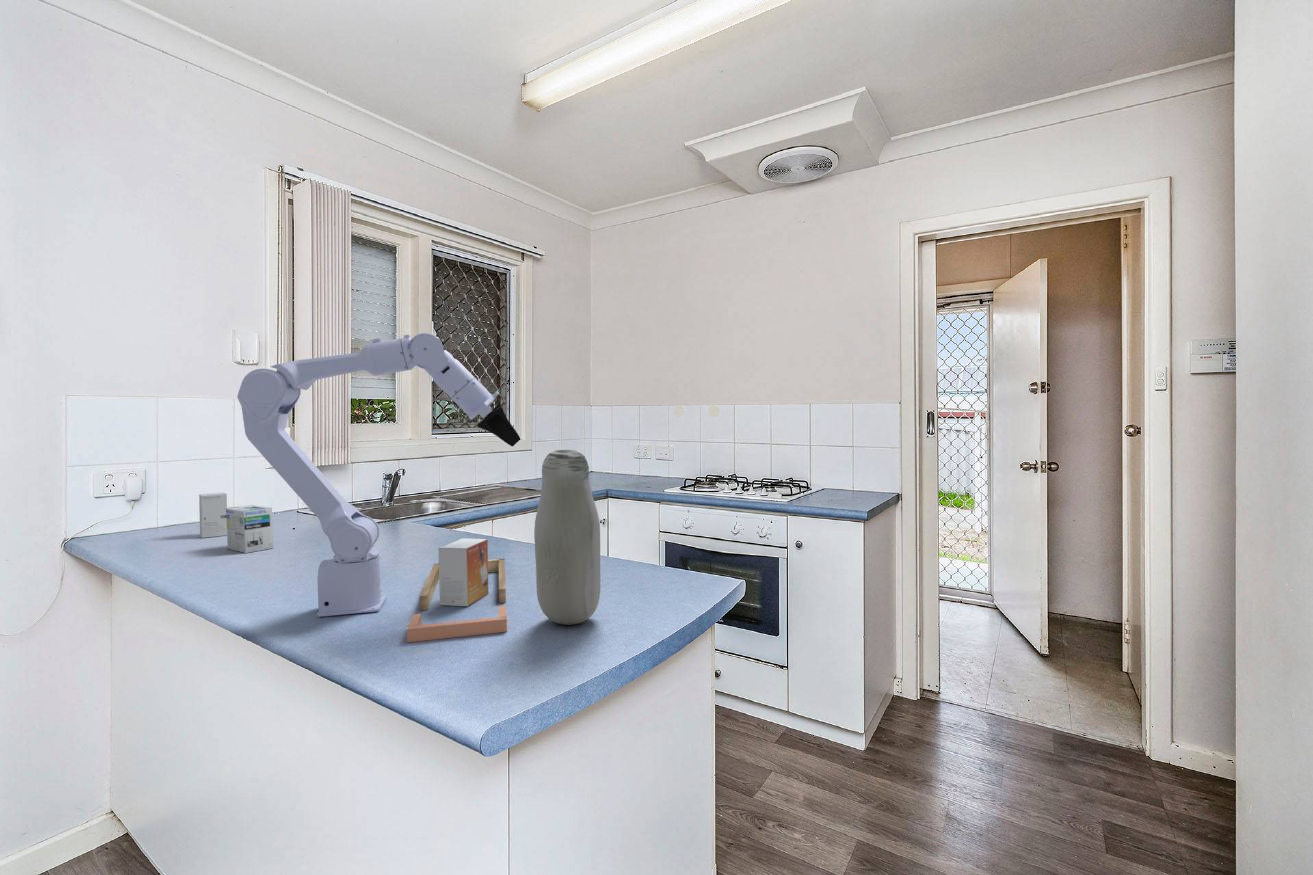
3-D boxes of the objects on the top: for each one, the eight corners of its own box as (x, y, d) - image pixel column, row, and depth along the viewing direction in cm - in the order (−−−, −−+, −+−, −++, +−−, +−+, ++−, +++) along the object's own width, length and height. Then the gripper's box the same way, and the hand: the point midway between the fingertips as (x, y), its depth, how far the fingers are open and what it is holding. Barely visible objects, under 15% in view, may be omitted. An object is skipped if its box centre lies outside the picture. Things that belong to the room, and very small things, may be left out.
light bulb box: (274, 548, 149) (273, 506, 148) (245, 554, 143) (243, 510, 143) (255, 543, 155) (253, 503, 154) (226, 548, 149) (224, 507, 149)
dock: (407, 642, 86) (406, 629, 86) (413, 626, 92) (413, 614, 92) (506, 631, 90) (506, 618, 90) (506, 617, 96) (506, 605, 96)
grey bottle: (610, 615, 96) (608, 448, 95) (578, 637, 87) (575, 452, 86) (560, 607, 101) (557, 447, 99) (524, 627, 91) (521, 451, 90)
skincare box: (201, 538, 162) (199, 495, 161) (199, 536, 165) (197, 494, 165) (228, 535, 166) (227, 493, 166) (226, 533, 169) (224, 491, 169)
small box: (467, 607, 101) (466, 548, 101) (438, 605, 102) (437, 547, 102) (489, 593, 109) (488, 538, 109) (462, 592, 110) (461, 537, 110)
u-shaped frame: (420, 610, 100) (419, 596, 100) (434, 575, 122) (434, 563, 122) (505, 602, 104) (505, 588, 104) (504, 569, 126) (504, 558, 125)
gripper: (478, 372, 100) (534, 428, 103) (480, 374, 114) (529, 424, 117) (447, 400, 99) (504, 456, 102) (453, 399, 113) (503, 448, 116)
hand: (515, 441), depth 109 cm, fingers open, 7 cm apart
